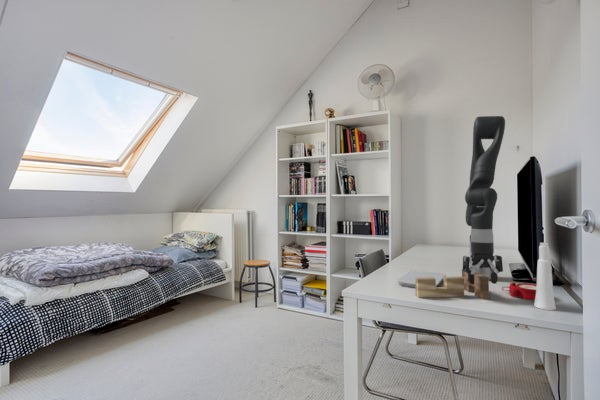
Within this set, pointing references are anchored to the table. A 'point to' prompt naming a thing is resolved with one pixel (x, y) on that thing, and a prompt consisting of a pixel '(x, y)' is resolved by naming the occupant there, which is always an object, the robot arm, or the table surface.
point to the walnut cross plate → (477, 285)
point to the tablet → (409, 277)
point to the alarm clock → (522, 290)
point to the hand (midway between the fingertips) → (482, 283)
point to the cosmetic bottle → (544, 280)
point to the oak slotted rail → (429, 289)
